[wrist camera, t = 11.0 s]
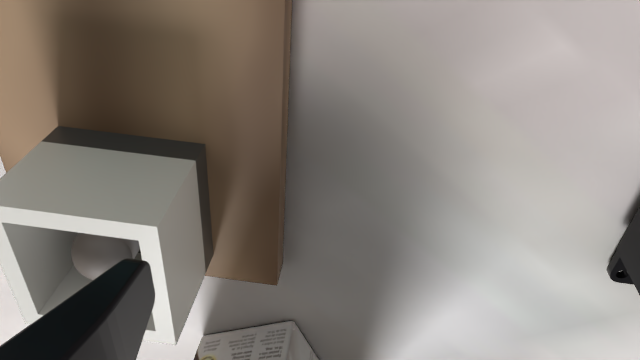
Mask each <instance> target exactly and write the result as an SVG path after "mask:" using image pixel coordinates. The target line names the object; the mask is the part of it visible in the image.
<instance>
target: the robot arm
mask: <svg viewBox="0 0 640 360" xmlns="http://www.w3.org/2000/svg"><path fill="white" fill-rule="evenodd" d="M616 250H617V251H616V253H615V254H614V256H613V258H612V260H611V261H610V263H609V265H608V267H607V272H608V274H609V276H610V278H611V279H612V280H613V281H615V282H619V283H627V284H634V285H635V287H636V289H637V291H638V293H639V295H640V207H639V209H638V211H637V213H636V214H635V216H634V218H633V220H632V221H631V223H630V225H629V227H628V228H627V230H626V232H625V234H624V236H623V237H622V239H621V241H620V243H619V244H618V246H617V248H616ZM621 270H623V271H621ZM619 271H621V272H619ZM154 302H155V289H154V284H153V278H152V273H151V267H150V264H149V263H148V262H147V261H144V260H137V259H129V258H126V259H123V260H121V261H119V262H118V263H117V264H115V265H114V266H112V267H111V268H109V269H108V270H107V271H105V272H104V273H102V274H101V275H100V276H98V277H97V278H95V279H94V280H93V281H91V282H90V283H88V284H87V285H85V286H84V287H83V288H81V289H80V290H78V291H77V292H76V293H74V294H73V295H71V296H70V297H69V298H67V299H66V300H64V301H63V302H62V303H60V304H59V305H57V306H56V307H54V308H53V309H52V310H50V311H49V312H47V313H46V314H45V315H43V316H42V317H40V318H39V319H38V320H36V321H35V322H33V323H32V324H30V325H29V326H28V327H26V328H25V329H23V330H22V331H21V332H19V333H18V334H16V335H15V336H14V337H12V338H11V339H9V340H8V341H6V342H5V343H4V344H2V345H1V346H0V360H136V357H137V354H138V351H139V348H140V345H141V342H142V339H143V336H144V333H145V330H146V327H147V324H148V321H149V318H150V315H151V312H152V309H153V306H154Z"/></svg>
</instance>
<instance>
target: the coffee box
mask: <svg viewBox="0 0 640 360" xmlns="http://www.w3.org/2000/svg"><path fill="white" fill-rule="evenodd" d="M194 360H319V359H318V358H317V356H316V355H315V353H314V352H313V350H312V349H311V347H310V345H309V344H308V342H307V341H306V339H305V338H304V336H303V335H302V333H301V332H300V330H299V328H298V327H297V325H296V324H295V323H294V322H293V321H288V322H282V323H276V324H270V325H264V326H258V327H252V328H246V329H240V330H234V331H229V332H223V333H217V334H211V335H205V336H203V337H202V339H201V341H200V344H199V346H198V349H197V352H196V355H195V358H194Z"/></svg>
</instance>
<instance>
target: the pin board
mask: <svg viewBox="0 0 640 360" xmlns="http://www.w3.org/2000/svg"><path fill="white" fill-rule="evenodd" d="M291 16H292V0H0V156H1V159H2V162H3V165H4V168H5V170H6V173H7V172H8V171H9V170H10V169H11V168H12V167H14V166H15V165H16V164H17V163H18V162H19V161H20V160H21V159H22V158H23V157H25V156H26V155H27V154H28V153H29V152H30V151H31V150H32V149H33V148H34V147H36V146H37V145H38V144H39V143H40V142H41V141H42V140H43V139H44V138H45V137H47V136H48V135H49V134H50V133H51V132H52V131H53V130H54V129H55V128H56V127H57V126H63V127H71V128H79V129H87V130H95V131H103V132H112V133H120V134H128V135H136V136H144V137H152V138H160V139H169V140H177V141H185V142H193V143H201V144H205V147H206V160H207V173H208V187H209V200H210V213H211V226H212V240H213V253H214V255H213V257H212V260H211V262H210V264H209V267H208V269H207V272H206V274H205V276H211V277H219V278H226V279H233V280H241V281H248V282H255V283H262V284H270V285H277V284H278V280H279V276H280V272H281V268H282V264H283V239H284V211H285V183H286V155H287V127H288V99H289V72H290V44H291ZM139 250H140V246H139V241H138V240H130V239H123V238H115V237H108V236H101V235H93V234H86V233H78V235H77V236H76V238H75V239H74V242H73V244H72V248H71V257H72V261H73V264H74V266H75V268H76V269H77V270H78V271H79V272H80V273H81V274H82V275H83V276H85V277H87V278H89V279H92V280H94V279H95V278H97V277H98V276H100V275H101V274H102V273H104V272H105V271H107V270H108V269H109V268H111V267H112V266H114V265H115V264H117V263H118V262H119V261H121V260H123V259H126V258H129V259H134V258H135V257H136V255H137V253H138V252H139Z"/></svg>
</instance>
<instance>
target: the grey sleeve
mask: <svg viewBox="0 0 640 360" xmlns="http://www.w3.org/2000/svg"><path fill="white" fill-rule="evenodd" d="M78 233H86V234H93V235H101V236H108V237H115V238H123V239H130V240H138V241H139V246H140V250H139V252H138V253H137V255H136V257H135V258H134V259H137V260H144V261H147V262H148V263H149V264H150V267H151V273H152V278H153V284H154V289H155V302H154V306H153V309H152V312H151V315H150V318H149V321H148V324H147V327H146V330H145V333H144V336H143V339H142V341H149V342H155V343H162V344H169V345H176V344H177V342H178V339H179V337H180V334H181V332H182V330H183V327H184V325H185V322H186V320H187V318H188V315H189V313H190V310H191V308H192V305H193V303H194V301H195V298H196V296H197V293H198V291H199V289H200V286H201V284H202V281H203V279H204V276H205V274H206V272H207V269H208V267H209V264H210V262H211V260H212V257H213V255H214V253H213V240H212V226H211V213H210V200H209V187H208V173H207V160H206V147H205V144H201V143H193V142H185V141H177V140H169V139H160V138H152V137H144V136H136V135H128V134H120V133H112V132H103V131H95V130H87V129H79V128H71V127H63V126H57V127H56V128H55V129H54V130H53V131H52V132H51V133H50V134H49V135H48V136H47V137H45V138H44V139H43V140H42V141H41V142H40V143H39V144H38V145H37V146H36V147H34V148H33V149H32V150H31V151H30V152H29V153H28V154H27V155H26V156H25V157H23V158H22V159H21V160H20V161H19V162H18V163H17V164H16V165H15V166H14V167H12V168H11V169H10V170H9V171H8V172H7V173H6V174H5V175H4V176H3V177H1V178H0V265H1V268H2V270H3V272H4V275H5V277H6V279H7V282H8V284H9V287H10V289H11V291H12V294H13V296H14V298H15V301H16V303H17V305H18V308H19V310H20V312H21V315H22V317H23V319H24V322H25V324H32V323H33V322H35V321H36V320H38V319H39V318H40V317H42V316H43V315H45V314H46V313H47V312H49V311H50V310H52V309H53V308H54V307H56V306H57V305H59V304H60V303H62V302H63V301H64V300H66V299H67V298H69V297H70V296H71V295H73V294H74V293H76V292H77V291H78V290H80V289H81V288H83V287H84V286H85V285H87V284H88V283H90V282H91V281H93V280H92V279H89V278H87V277H85V276H83V275H82V274H81V273H80V272H79V271H78V270H77V269H76V268H75V266H74V264H73V261H72V257H71V248H72V244H73V242H74V239H75V238H76V236H77V235H78Z"/></svg>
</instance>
